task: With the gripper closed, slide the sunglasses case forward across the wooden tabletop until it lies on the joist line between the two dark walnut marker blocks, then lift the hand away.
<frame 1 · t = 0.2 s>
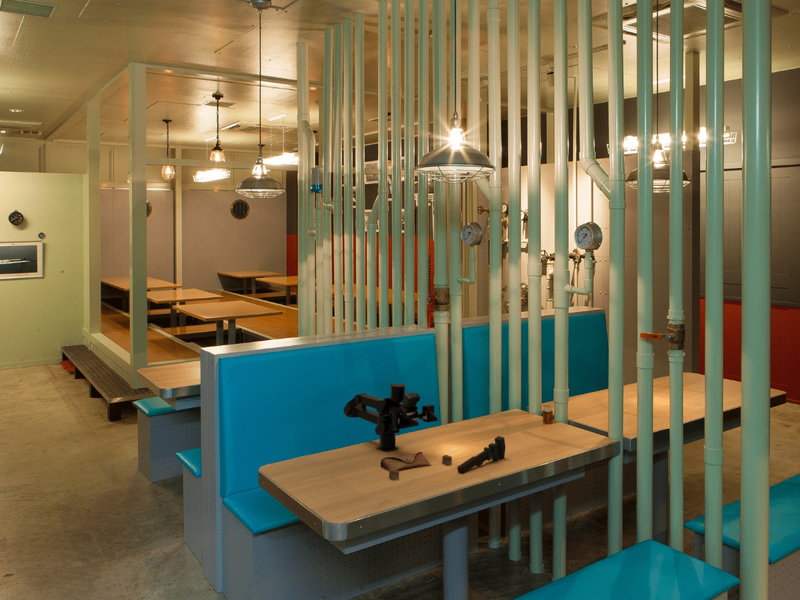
hand: (427, 421, 241), 16 cm above the table, tool horizontal, fingers open, 9 cm apart
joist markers: (420, 471, 235), on the table
adjustable wrench: (481, 466, 242), on the table
sunglasses case: (406, 467, 241), on the table
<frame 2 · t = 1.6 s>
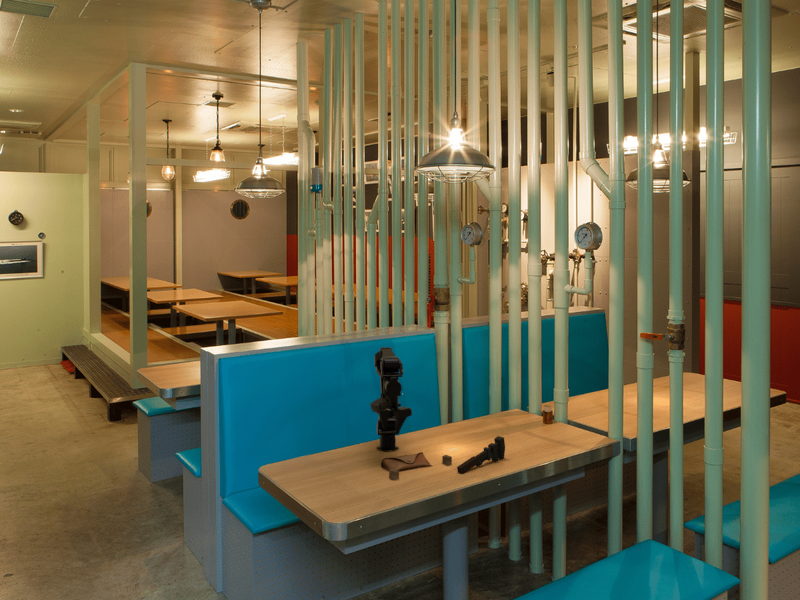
hand: (391, 430, 248), 11 cm above the table, tool pointing down, fingers open, 8 cm apart
nothing on the table moved.
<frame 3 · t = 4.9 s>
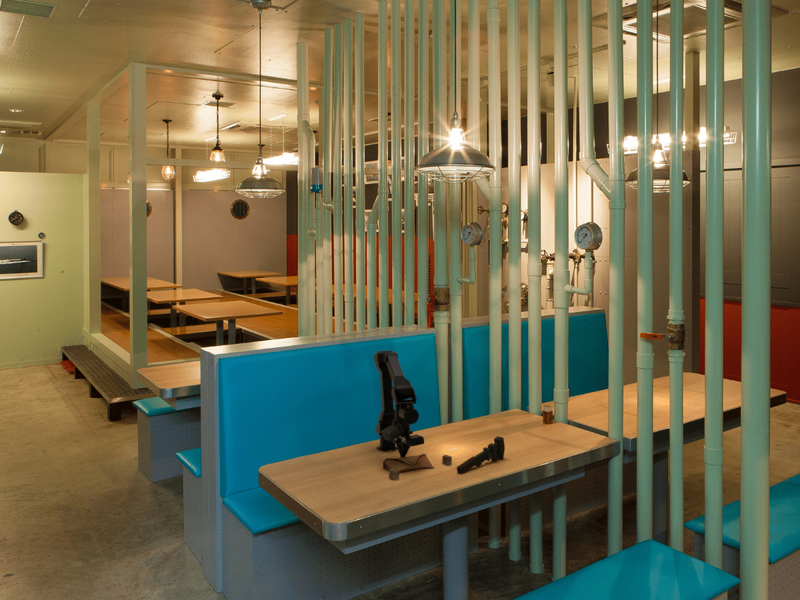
hand: (402, 458, 243), 2 cm above the table, tool pointing down, fingers closed
sunglasses case: (409, 469, 239), on the table, touching gripper
everything else where it was.
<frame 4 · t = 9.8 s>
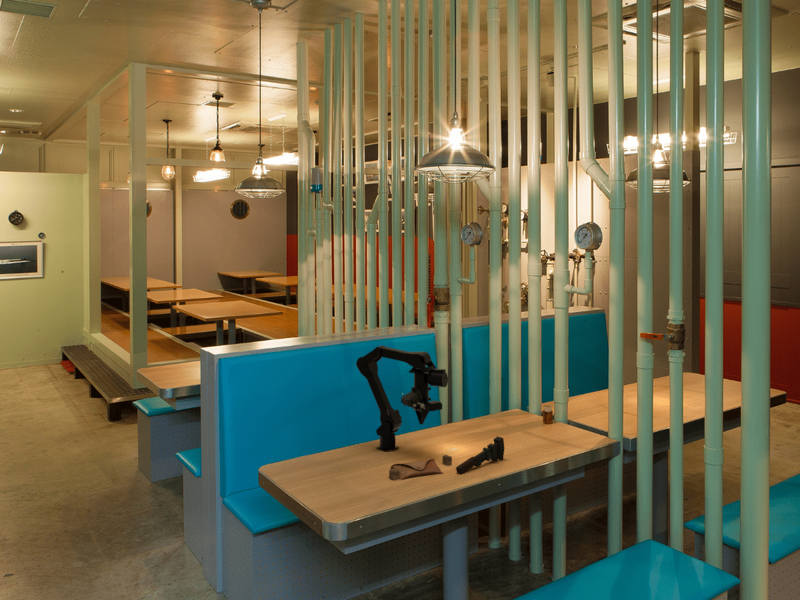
hand: (421, 424, 254), 12 cm above the table, tool pointing down, fingers closed
sunglasses case: (417, 475, 234), on the table
everything else where it was.
at the end: sunglasses case 2.0 cm from the target spot, on the table; the gripper is holding nothing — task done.
